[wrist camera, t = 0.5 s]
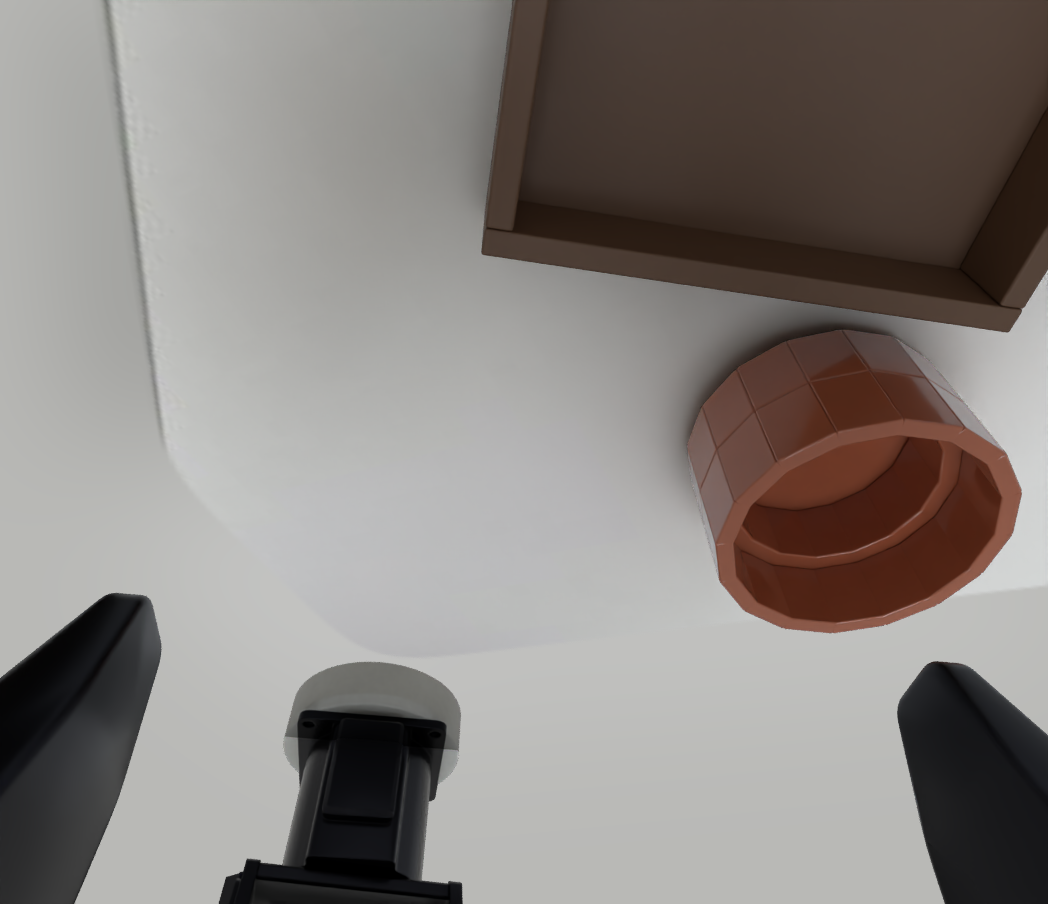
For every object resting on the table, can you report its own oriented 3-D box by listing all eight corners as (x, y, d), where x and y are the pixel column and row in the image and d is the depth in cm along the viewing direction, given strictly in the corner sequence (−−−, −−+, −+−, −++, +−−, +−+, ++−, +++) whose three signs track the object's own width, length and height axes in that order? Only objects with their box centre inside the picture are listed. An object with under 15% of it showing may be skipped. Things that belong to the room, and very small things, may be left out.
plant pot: (869, 530, 25) (929, 644, 21) (656, 506, 24) (682, 619, 20) (985, 340, 20) (1084, 443, 17) (730, 303, 20) (778, 402, 16)
